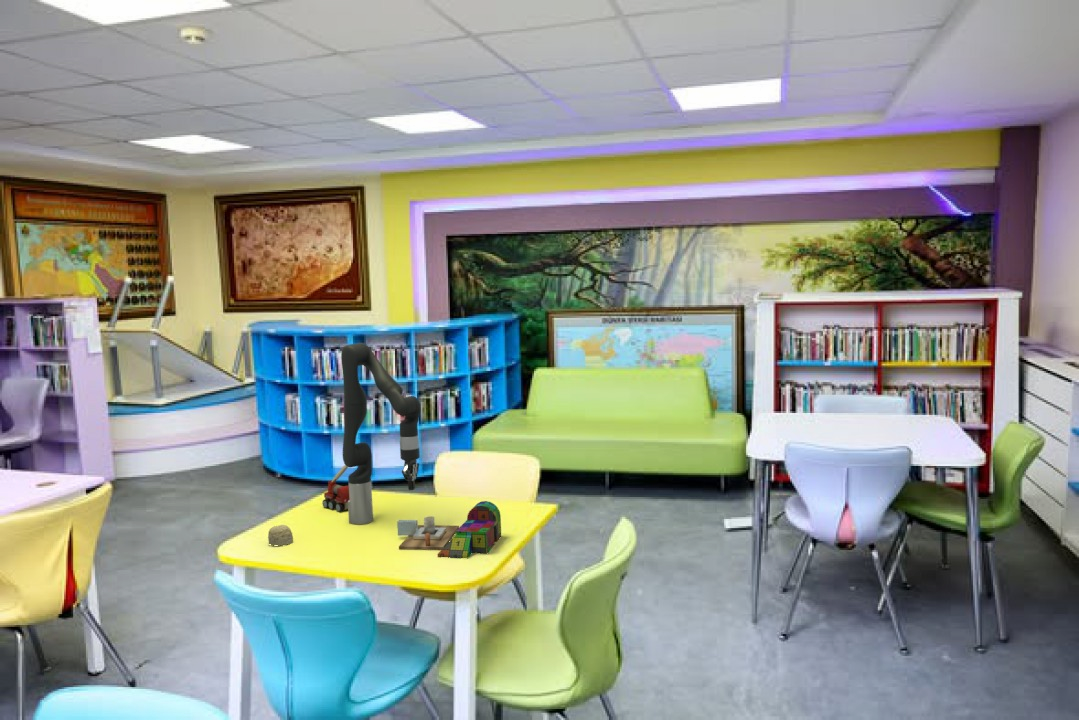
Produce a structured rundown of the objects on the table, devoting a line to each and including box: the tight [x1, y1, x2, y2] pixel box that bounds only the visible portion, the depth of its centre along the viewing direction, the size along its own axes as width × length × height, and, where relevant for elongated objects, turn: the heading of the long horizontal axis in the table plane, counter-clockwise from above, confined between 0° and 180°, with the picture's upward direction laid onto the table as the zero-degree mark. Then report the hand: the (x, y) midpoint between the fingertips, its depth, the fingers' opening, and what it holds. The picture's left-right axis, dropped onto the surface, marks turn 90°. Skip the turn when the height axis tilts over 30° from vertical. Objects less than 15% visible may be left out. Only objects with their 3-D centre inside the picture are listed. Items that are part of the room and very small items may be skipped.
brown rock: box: [267, 524, 294, 547], centre depth 304 cm, size 9×10×10 cm
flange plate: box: [396, 519, 446, 540], centre depth 303 cm, size 18×10×6 cm, turn 82°
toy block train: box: [437, 500, 502, 559], centre depth 292 cm, size 25×17×14 cm
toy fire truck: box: [321, 464, 350, 513], centre depth 349 cm, size 11×16×18 cm
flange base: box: [398, 516, 460, 551], centre depth 303 cm, size 17×25×8 cm
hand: (411, 489), depth 311 cm, fingers closed
